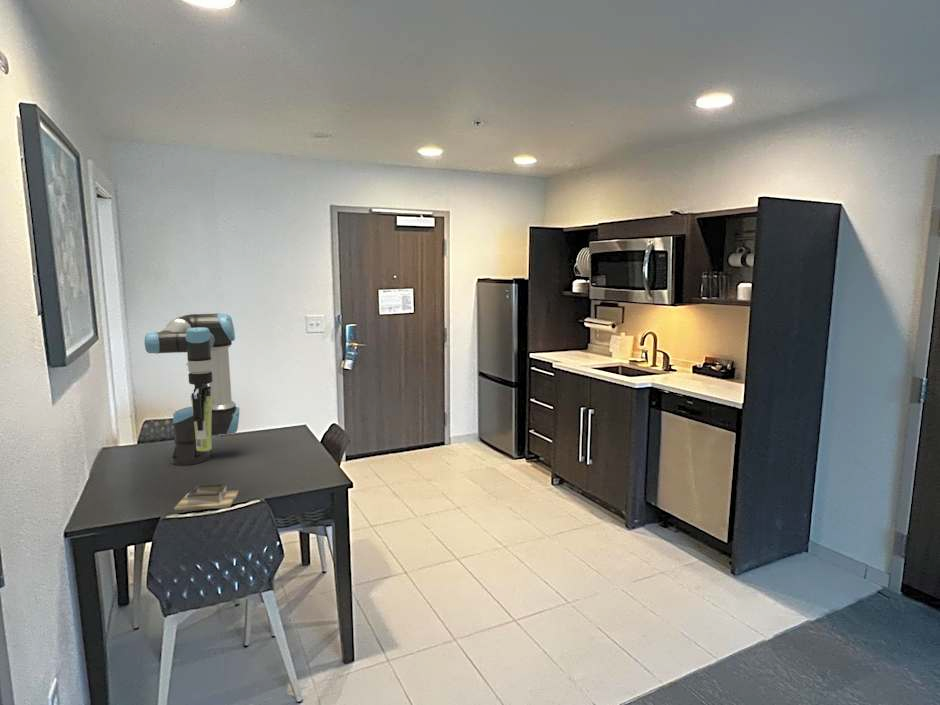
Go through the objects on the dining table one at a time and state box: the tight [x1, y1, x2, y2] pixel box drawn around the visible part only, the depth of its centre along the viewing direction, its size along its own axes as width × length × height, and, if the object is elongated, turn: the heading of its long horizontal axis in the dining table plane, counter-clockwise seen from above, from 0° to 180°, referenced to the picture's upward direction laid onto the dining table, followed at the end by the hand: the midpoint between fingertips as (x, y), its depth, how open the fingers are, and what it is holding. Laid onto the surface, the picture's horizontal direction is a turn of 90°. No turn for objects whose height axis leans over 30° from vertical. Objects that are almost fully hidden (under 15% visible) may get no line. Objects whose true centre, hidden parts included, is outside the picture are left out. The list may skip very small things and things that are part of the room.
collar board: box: [173, 483, 240, 511], centre depth 208 cm, size 14×18×4 cm
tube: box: [190, 395, 213, 451], centre depth 205 cm, size 6×5×20 cm
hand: (204, 436), depth 205 cm, fingers closed on tube, 5 cm apart
